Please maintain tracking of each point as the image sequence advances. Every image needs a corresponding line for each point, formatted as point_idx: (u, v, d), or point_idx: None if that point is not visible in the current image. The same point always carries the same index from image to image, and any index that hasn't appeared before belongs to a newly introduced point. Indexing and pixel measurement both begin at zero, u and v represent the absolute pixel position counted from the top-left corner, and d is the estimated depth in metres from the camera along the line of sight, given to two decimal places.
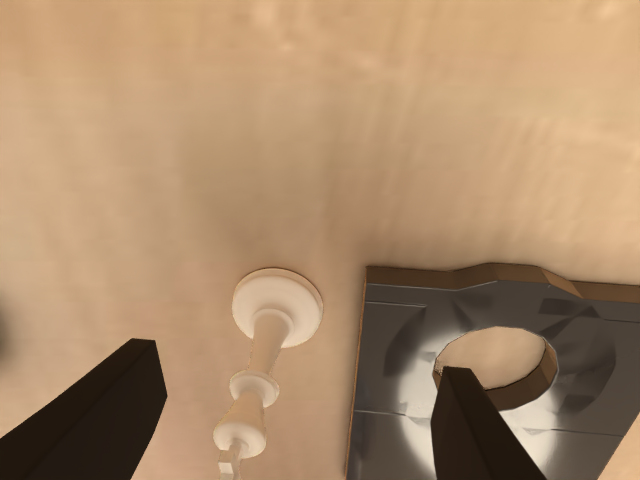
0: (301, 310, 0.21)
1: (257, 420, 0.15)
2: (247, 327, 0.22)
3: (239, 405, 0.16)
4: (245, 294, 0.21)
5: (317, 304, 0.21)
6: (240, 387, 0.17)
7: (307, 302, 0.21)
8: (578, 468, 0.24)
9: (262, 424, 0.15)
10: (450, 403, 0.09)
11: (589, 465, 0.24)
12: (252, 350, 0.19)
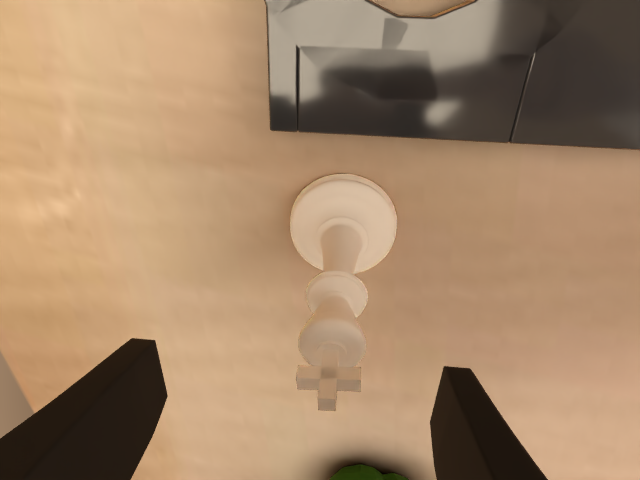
0: (327, 204, 0.17)
1: (312, 318, 0.12)
2: (357, 263, 0.19)
3: None
4: (312, 259, 0.19)
5: (325, 183, 0.17)
6: None
7: (318, 196, 0.17)
8: None
9: (318, 314, 0.12)
10: (450, 403, 0.09)
11: None
12: None
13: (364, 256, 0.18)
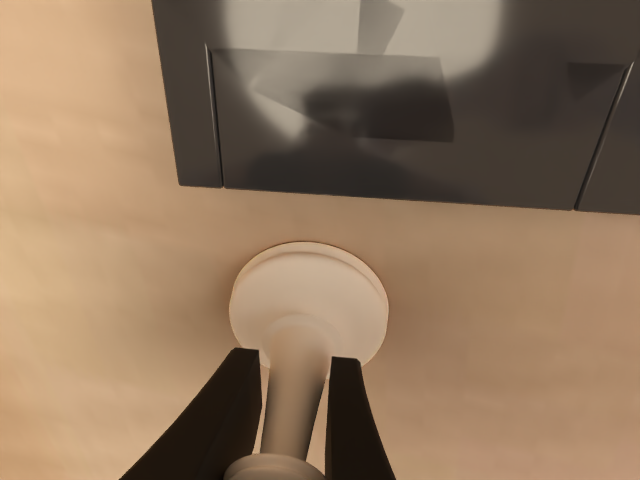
0: (280, 291, 0.11)
1: None
2: (329, 370, 0.13)
3: None
4: (263, 361, 0.13)
5: (276, 259, 0.11)
6: None
7: (267, 278, 0.11)
8: None
9: None
10: None
11: None
12: None
13: None
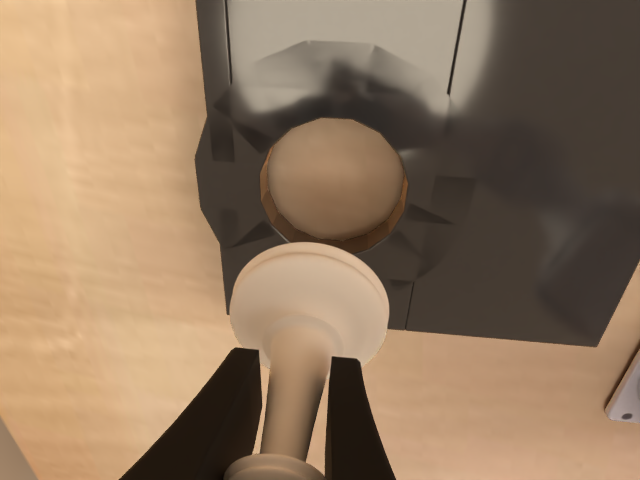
0: (281, 291, 0.11)
1: None
2: (329, 370, 0.13)
3: None
4: (264, 361, 0.13)
5: (277, 259, 0.11)
6: None
7: (267, 278, 0.11)
8: (565, 18, 0.13)
9: None
10: None
11: (557, 0, 0.13)
12: None
13: None
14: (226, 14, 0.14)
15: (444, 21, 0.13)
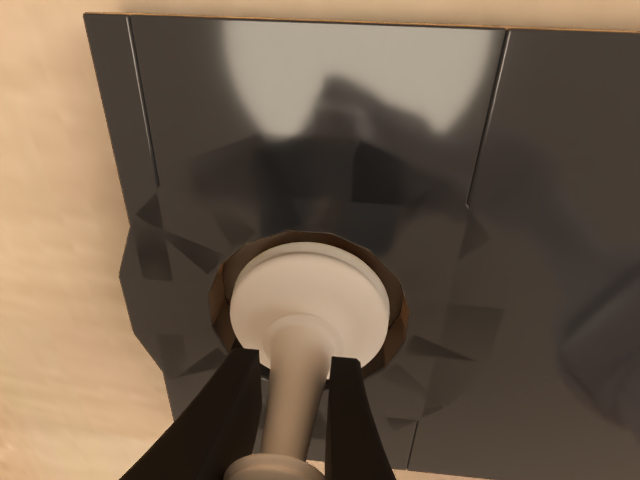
0: (281, 291, 0.11)
1: None
2: None
3: None
4: (264, 361, 0.13)
5: (277, 259, 0.11)
6: None
7: (268, 277, 0.11)
8: None
9: None
10: None
11: (637, 83, 0.08)
12: None
13: None
14: (144, 96, 0.10)
15: (463, 110, 0.09)
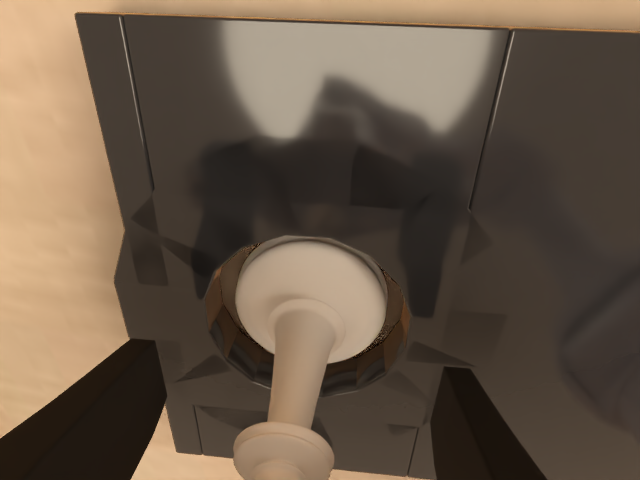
0: (285, 277, 0.12)
1: None
2: (331, 354, 0.13)
3: None
4: (268, 346, 0.13)
5: (281, 246, 0.12)
6: None
7: (272, 264, 0.12)
8: None
9: None
10: (450, 403, 0.09)
11: None
12: None
13: (341, 345, 0.13)
14: (138, 98, 0.09)
15: (465, 113, 0.09)
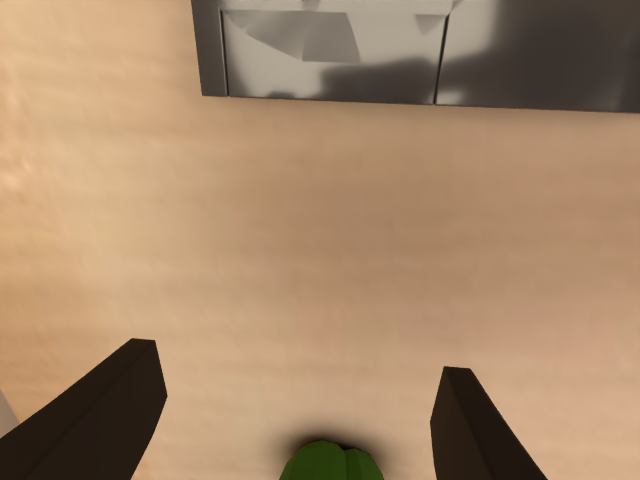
0: None
1: None
2: None
3: None
4: None
5: None
6: None
7: None
8: None
9: None
10: (450, 403, 0.09)
11: None
12: None
13: None
14: None
15: None
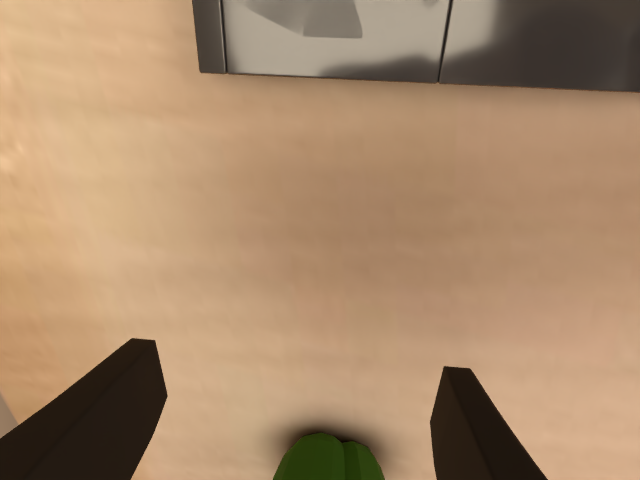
0: None
1: None
2: None
3: None
4: None
5: None
6: None
7: None
8: None
9: None
10: (450, 403, 0.09)
11: None
12: None
13: None
14: None
15: None
